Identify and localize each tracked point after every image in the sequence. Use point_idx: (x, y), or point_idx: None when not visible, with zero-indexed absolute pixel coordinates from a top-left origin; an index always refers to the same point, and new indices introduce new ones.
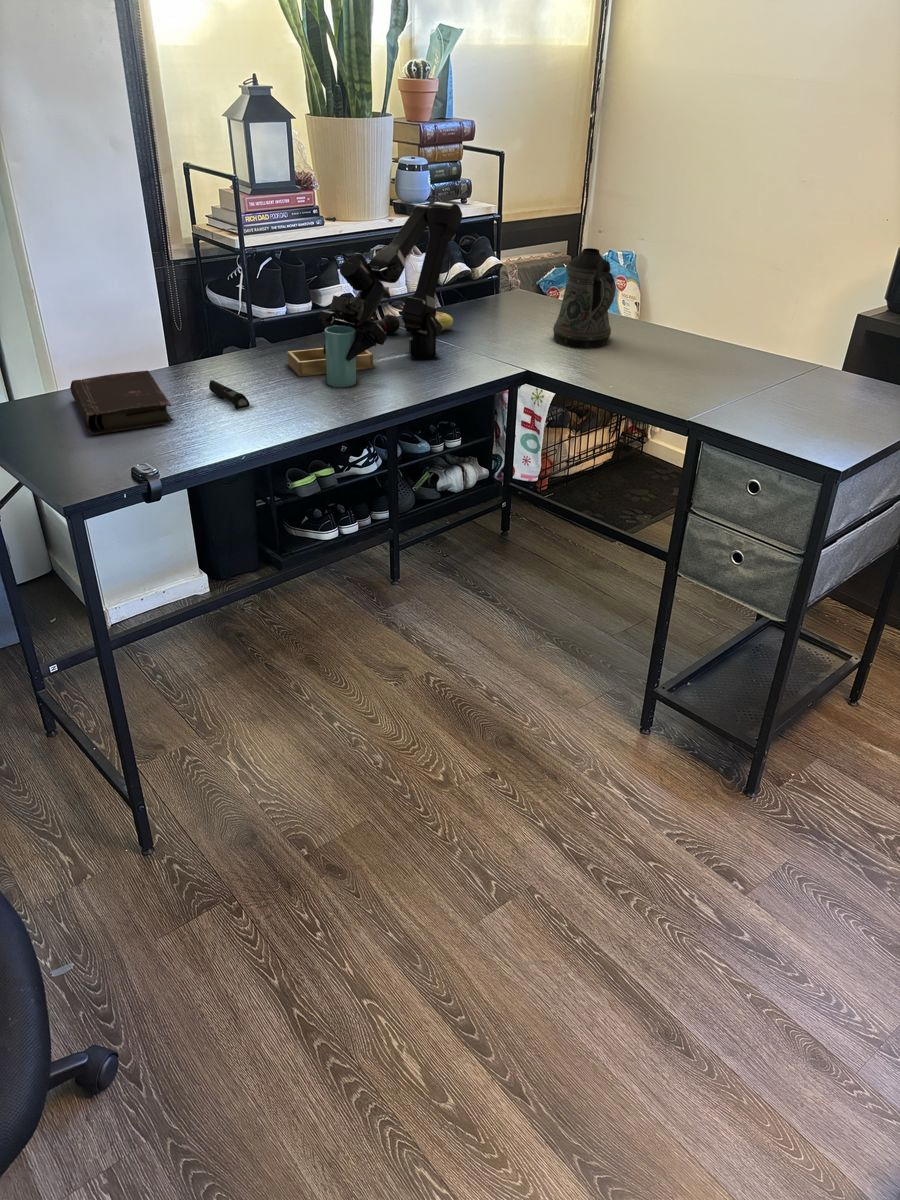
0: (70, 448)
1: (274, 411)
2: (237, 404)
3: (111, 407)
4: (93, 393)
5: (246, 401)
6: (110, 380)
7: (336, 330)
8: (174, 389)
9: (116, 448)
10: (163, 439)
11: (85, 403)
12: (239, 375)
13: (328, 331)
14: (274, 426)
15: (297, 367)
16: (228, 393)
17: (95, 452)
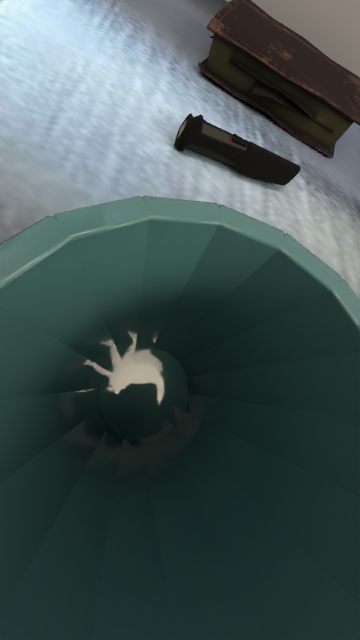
0: (210, 16)
1: (119, 148)
2: (182, 123)
3: (247, 10)
4: (307, 47)
5: (180, 134)
6: (344, 86)
7: (342, 493)
8: (320, 174)
9: (176, 15)
10: (159, 36)
11: (280, 24)
12: (336, 271)
13: (330, 360)
14: (54, 90)
15: None
16: (225, 132)
17: (182, 8)
